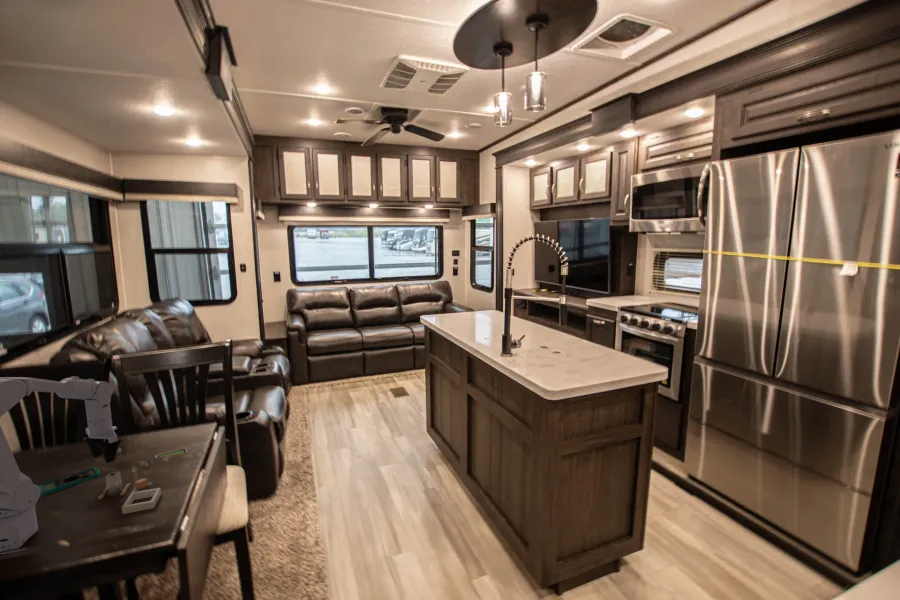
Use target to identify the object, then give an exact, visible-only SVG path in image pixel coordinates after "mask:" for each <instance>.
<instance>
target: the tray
mask: <svg viewBox="0 0 900 600" xmlns="http://www.w3.org/2000/svg"><path fill="white" fill-rule="evenodd" d="M161 496H162V488H161V487H156V488H149V489H148V490H143V491H137V492H132V493H130V494H129V496H128V497H127V499H126V500H125V502H124V504H122V506H121V513H122V515H125V514H129V513H135V512H140V511H145V510H151V509H154V508H155V506H156V505H157V502H158V501H159V499H160V497H161ZM146 498H151V499H150V500H148V501H143V502H136V503H134V501H136V500H141V499H146Z"/></svg>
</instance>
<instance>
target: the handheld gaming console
mask: <svg viewBox="0 0 900 600" xmlns="http://www.w3.org/2000/svg"><path fill="white" fill-rule="evenodd" d="M188 453H189V449H188V447H182V448H178V449H174V450H170V451H166V452H163V453H157V454H155V456H154V458H155V459H156V458H161V457H168V456H174V455H181V454H188Z"/></svg>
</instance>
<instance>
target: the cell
mask: <svg viewBox="0 0 900 600" xmlns="http://www.w3.org/2000/svg"><path fill="white" fill-rule="evenodd" d="M104 477H105V485H106V486H105V488H107V493H106V494H107V496H117V495H118V494H120V493H121V492H122V490H123V485H122V475H121V471H113V472H109V473H107V474H106V475H105V476H104Z"/></svg>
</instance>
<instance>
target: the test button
mask: <svg viewBox="0 0 900 600" xmlns="http://www.w3.org/2000/svg"><path fill="white" fill-rule="evenodd" d="M148 481H149V480H148V479H147V478H146V477H145V478H140V479H137V480H135V482H134V483H135V486H136V489H137V490H141V489H144V488H146V487H147V486H148V483H149V482H148Z"/></svg>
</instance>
